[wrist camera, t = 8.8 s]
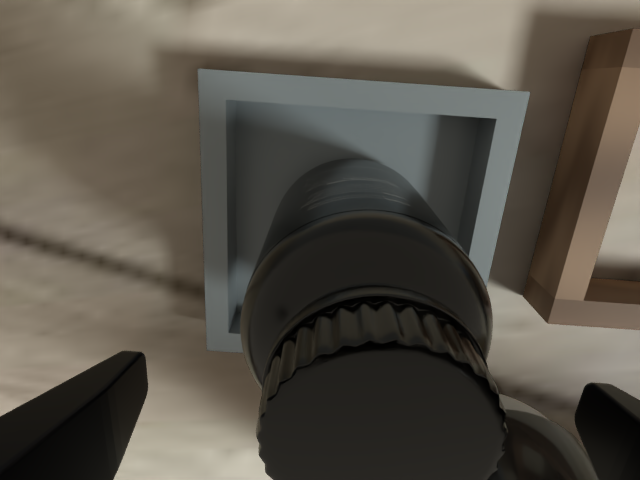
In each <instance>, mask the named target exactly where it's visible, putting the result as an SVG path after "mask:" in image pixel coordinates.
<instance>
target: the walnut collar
mask: <svg viewBox="0 0 640 480" xmlns="http://www.w3.org/2000/svg"><path fill="white" fill-rule="evenodd" d="M639 124H640V29H634V28H633V29H628V30H622V31H617V32H612V33H606V34H601V35H595V36H590V40H589V44H588V48H587V51H586V55H585V59H584V63H583V67H582V71H581V74H580V78H579V82H578V86H577V90H576V94H575V97H574V101H573V105H572V109H571V113H570V117H569V121H568V124H567V128H566V132H565V136H564V140H563V144H562V147H561V151H560V155H559V159H558V163H557V167H556V170H555V174H554V178H553V182H552V186H551V190H550V194H549V197H548V201H547V205H546V209H545V213H544V217H543V220H542V224H541V228H540V232H539V236H538V240H537V244H536V247H535V251H534V255H533V259H532V263H531V267H530V270H529V274H528V278H527V282H526V286H525V290H524V293H523V297H524V298H525V299H526V300H527V301H528V302H529V304H530V305H531V306H532V307H533V308H534V309H535V310H536V311H537V312H538V314H539V315H540V316H541V317H542V318H543V319H544V320H545V321H546V322H547V323H548V324H560V325H575V326H589V327H603V328H617V329H632V330H640V281H626V280H612V279H598V278H591V275H592V272H593V269H594V266H595V263H596V260H597V256H598V253H599V250H600V247H601V244H602V241H603V238H604V234H605V231H606V228H607V225H608V222H609V219H610V216H611V212H612V209H613V206H614V203H615V200H616V197H617V193H618V190H619V187H620V184H621V181H622V178H623V175H624V171H625V168H626V165H627V162H628V159H629V156H630V153H631V149H632V146H633V143H634V140H635V137H636V134H637V130H638V127H639Z"/></svg>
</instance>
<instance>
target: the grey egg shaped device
mask: <svg viewBox="0 0 640 480" xmlns="http://www.w3.org/2000/svg"><path fill="white" fill-rule="evenodd" d="M499 397H500V399H501V401H502V403H503V405H504V407H505V410H506V418H505V424H506V426H507V429H508V435H507V437H506V439H505V441H504V446H505V453H504V454H503V456H502V457H501V458H500V460H499V461H498V470H497V471H496V472H495V473H494V474H493V475H491V476H490V477H489V480H599V479H598V477H597V475H596V472H595V470H594V468H593V465H592V463H591V461H590V458H589V456H588V454H587V451H586V449H585V448H584V447H583V446H582V444H581V443H580V442H579V441H578V440H577V439H576V438H575V437H574V436H573V435H572V434H571V433H570V432H568V431H567V430H566V429H564V428H563V427H561V426H560V425H558V424H556V423H555V422H553V421H551V420H549V419H548V418H546V417H545V416H544V415H542V414H541V413H540V412H538V411H537V410H535V409H533V408H532V407H530V406H528V405H527V404H525V403H523V402H520V401H518V400H516V399H514V398H511V397H508V396H505V395H502V394H499Z"/></svg>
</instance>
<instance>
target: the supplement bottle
mask: <svg viewBox="0 0 640 480" xmlns="http://www.w3.org/2000/svg"><path fill="white" fill-rule="evenodd" d="M492 329H493V318H492V308H491V302H490V298H489V295H488V291H487V288H486V286H485V284H484V281H483V279H482V277H481V275H480V274H479V272H478V270H477V268H476V267H475V265H474V264H473V262H472V261H471V260H470V258H469V257H468V255H467V253H465V251H464V249H463V248H462V247H461V246H460V244H459V243H458V242H457V241H456V239H455V238H454V237H453V236H452V234H451V233H450V232H449V230H448V229H447V228H446V227H445V225H444V224H443V223H442V222H441V220H440V219H439V218H438V217H437V215H436V214H435V213H434V212H433V210H432V209H431V208H430V206H429V205H428V204H427V203H426V201H425V200H424V199H423V198H422V196H421V195H420V194H419V193H418V191H417V190H416V189H415V188H414V187H413V186H412V185H411V184H410V183H409V181H408V180H406V179H405V178H404V177H403V176H402V175H400V174H399V173H398V172H396V171H395V170H393V169H391V168H390V167H388V166H386V165H383V164H381V163H378V162H375V161H371V160H367V159H359V158H346V159H338V160H333V161H329V162H326V163H323V164H321V165H318V166H316V167H315V168H313V169H311V170H309V171H308V172H306V173H305V174H303V175H302V176H301V177H300V178H298V179H297V180H296V181H295V182H294V183H293V185H292V186H291V187H290V188H289V189H288V191H287V192H286V194H285V195H284V197H283V198H282V200H281V202H280V204H279V206H278V208H277V211H276V213H275V216H274V218H273V221H272V223H271V226H270V229H269V231H268V234H267V237H266V239H265V242H264V244H263V247H262V250H261V252H260V255H259V258H258V260H257V263H256V265H255V268H254V271H253V273H252V276H251V279H250V281H249V284H248V287H247V290H246V293H245V297H244V301H243V305H242V311H241V318H240V334H241V343H242V349H243V353H244V356H245V359H246V362H247V365H248V367H249V369H250V372H251V374H252V376H253V377H254V379H255V381H256V383H257V384H258V386H259V387H260V389H261V390H262V397H261V402H260V408H259V418H258V423H257V429H256V435H257V439H258V442H259V456H260V458H261V459H262V461H263V462H264V463H265V472H266V474H267V475H268V476H270V477H271V478H272V479H273V480H489V477H490V476H491V475H493V474H494V473H495V472H496V471H497V470H498V461H499V460H500V458H501V457H502V456H503V454H504V453H505V446H504V441H505V439H506V437H507V435H508V429H507V426H506V424H505V418H506V410H505V407H504V405H503V403H502V401H501V399H500V397H499V392H498V388H497V386H496V384H495V382H494V380H493V378H492V376H491V375H490V373H489V371H488V367H487V363H486V360H487V356H488V353H489V350H490V345H491V339H492Z"/></svg>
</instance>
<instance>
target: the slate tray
mask: <svg viewBox="0 0 640 480" xmlns="http://www.w3.org/2000/svg"><path fill="white" fill-rule="evenodd" d="M198 93H199V124H200V155H201V186H202V217H203V248H204V279H205V310H206V341H207V351H222V352H236V353H243V349H242V343H241V334H240V318H241V311H242V305H243V301H244V297H245V293H246V290H247V287H248V284H249V281H250V279H251V276H252V273H253V271H254V268H255V265H256V263H257V260H258V258H259V255H260V252H261V250H262V247H263V244H264V242H265V239H266V237H267V234H268V231H269V229H270V226H271V223H272V221H273V218H274V216H275V213H276V211H277V208H278V206H279V204H280V202H281V200H282V198H283V197H284V195H285V194H286V192H287V191H288V189H289V188H290V187H291V186H292V185H293V183H294V182H295V181H296V180H297V179H298V178H300V177H301V176H302V175H303V174H305V173H306V172H308V171H309V170H311V169H313V168H315V167H316V166H318V165H321V164H323V163H326V162H329V161H333V160H338V159H346V158H359V159H367V160H371V161H375V162H378V163H381V164H383V165H386V166H388V167H390V168H391V169H393V170H395V171H396V172H398V173H399V174H400V175H402V176H403V177H404V178H405V179H406V180H408V181H409V183H410V184H411V185H412V186H413V187H414V188H415V189H416V190H417V191H418V193H419V194H420V195H421V196H422V198H423V199H424V200H425V201H426V203H427V204H428V205H429V206H430V208H431V209H432V210H433V212H434V213H435V214H436V215H437V217H438V218H439V219H440V220H441V222H442V223H443V224H444V225H445V227H446V228H447V229H448V230H449V232H450V233H451V234H452V236H453V237H454V238H455V239H456V241H457V242H458V243H459V244H460V246H461V247H462V248H463V249H464V251H465V253H467V255H468V257H469V258H470V260H471V261H472V262H473V264H474V265H475V267H476V268H477V270H478V272H479V274H480V275H481V277H482V279H483V281H484V284H485V286H486V287H487V282H488V278H489V274H490V269H491V265H492V260H493V256H494V251H495V247H496V242H497V238H498V234H499V229H500V225H501V220H502V216H503V211H504V207H505V202H506V198H507V194H508V189H509V185H510V180H511V176H512V171H513V167H514V162H515V158H516V154H517V149H518V145H519V140H520V136H521V131H522V127H523V122H524V118H525V114H526V109H527V105H528V100H529V96H530V92H525V91H511V90H496V89H482V88H468V87H453V86H439V85H425V84H411V83H396V82H382V81H368V80H353V79H339V78H325V77H311V76H296V75H282V74H268V73H253V72H239V71H225V70H211V69H198Z"/></svg>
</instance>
